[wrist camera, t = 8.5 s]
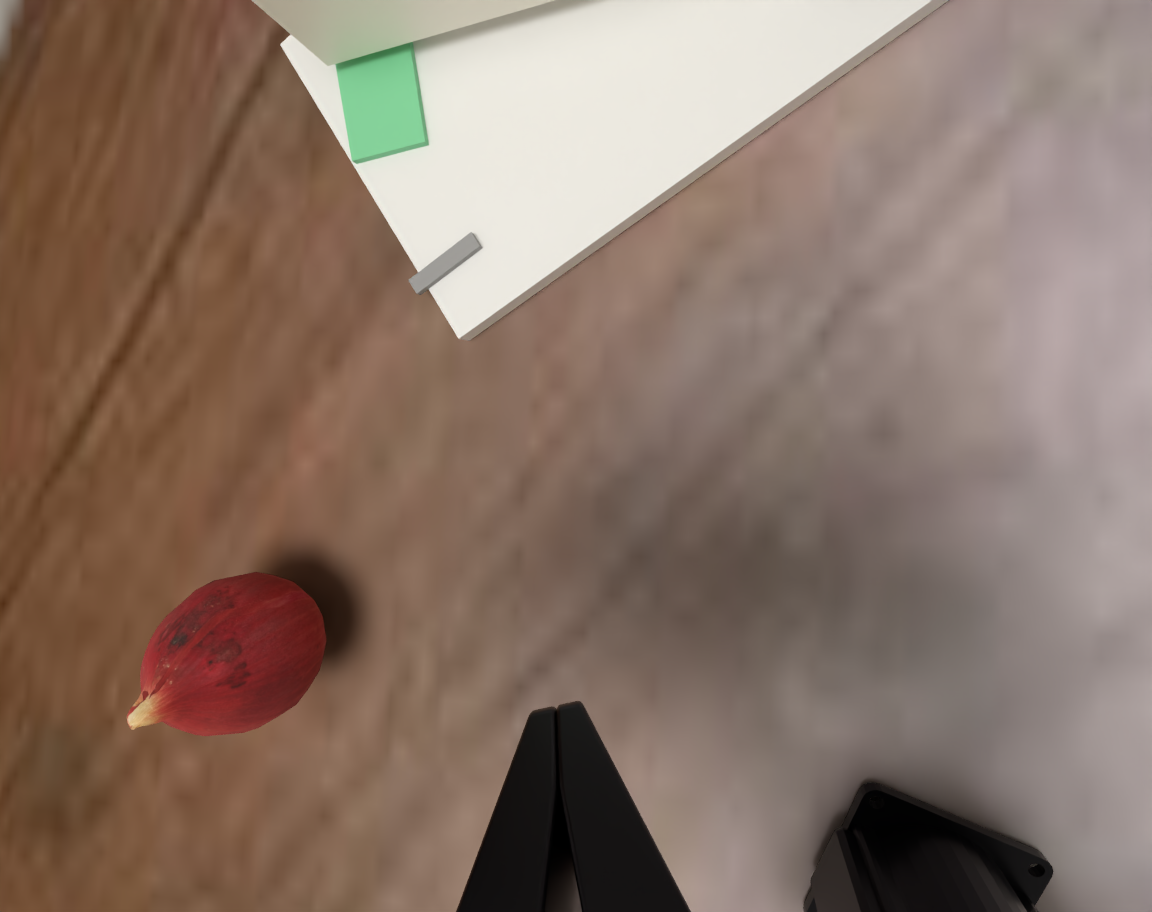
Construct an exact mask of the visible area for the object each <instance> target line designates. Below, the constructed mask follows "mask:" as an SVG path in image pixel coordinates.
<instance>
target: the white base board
mask: <svg viewBox="0 0 1152 912" xmlns="http://www.w3.org/2000/svg"><path fill="white" fill-rule="evenodd" d="M947 1H949V0H555V1H551V2H548V3H545V4H541V5H538V6H534V7H531V8H527V9H524V10H520V11H517V12H513V13H510V14H507V15H503V16H500V17H496V18H493V19H489V20H486V21H482V22H479V23H475V24H472V25H469V26H465V27H462V28H458V29H455V30H451V31H448V32H444V33H441V34H437V35H434V36H431V37H427V38H424V39H420V40H417V41H413V42H410V43H406V44H403V45H399V46H396V47H393V48H389V49H386V50H382V51H379V52H375V53H372V54H368V55H365V56H361V57H358V58H354V59H351V60H348V61H344V62H341V63H337V64H334V65H330V66H327V65H326V64H325V63H324V62H322V61H321V60H320V59H319V58H318V57H317V56H315V55H314V54H313V53H312V52H311V51H310V50H309V49H307V48H306V47H305V46H304V45H303V44H302V43H300V42H299V41H298V40H297V39H296V38H295V37H293V36H292V35H290V36H289V37H288V38H287V39H285V40H284V41H283V42H282V43H281V44H280V45H281V47H282V48H283V50H284V52H285V53H286V55H287V57H288V58H289V60H290V62H291V63H292V65H293V66H294V68H295V70H296V71H297V73H298V75H299V76H300V78H301V80H302V81H303V83H304V85H305V86H306V88H307V90H308V91H309V93H310V94H311V96H312V98H313V99H314V101H315V103H316V104H317V106H318V108H319V109H320V111H321V113H322V114H323V116H324V118H325V119H326V121H327V122H328V124H329V126H330V127H331V129H332V131H333V132H334V134H335V136H336V137H337V139H338V141H339V142H340V144H341V146H342V147H343V149H344V150H345V152H346V154H347V155H348V157H349V159H350V160H351V162H352V164H353V165H354V167H355V169H356V170H357V172H358V174H359V175H360V177H361V179H362V180H363V182H364V183H365V185H366V187H367V188H368V190H369V192H370V193H371V195H372V197H373V198H374V200H375V202H376V203H377V205H378V207H379V208H380V210H381V211H382V213H383V215H384V216H385V218H386V220H387V221H388V223H389V225H390V226H391V228H392V230H393V231H394V233H395V235H396V236H397V238H398V239H399V241H400V243H401V244H402V246H403V248H404V249H405V251H406V253H407V254H408V256H409V258H410V259H411V261H412V263H413V264H414V266H415V267H416V269H417V271H418V273H417V274H416V275H414V276H413V277H412V278H411V279H409V282H410V284H411V285H412V287H413V289H414V290H415V292H416V294H419V295H421V294H423V293H424V292H425V291H427V290H428V289H429V291H430V292H431V294H432V295H433V297H434V299H435V300H436V302H437V304H438V305H439V307H440V309H441V310H442V312H443V314H444V315H445V317H446V319H447V320H448V322H449V324H450V325H451V327H452V328H453V330H454V332H455V333H456V335H457V337H458V338H459V339H463V340H468V341H470V340H471V339H473V338H474V337H475V336H477V335H478V334H480V333H481V332H482V331H484V330H485V329H487V328H488V327H489V326H491V325H492V324H494V323H495V322H496V321H498V320H499V319H501V318H502V317H504V316H505V315H506V314H508V313H509V312H511V311H512V310H513V309H515V308H516V307H518V306H519V305H520V304H522V303H523V302H525V301H526V300H527V299H529V298H530V297H532V296H533V295H535V294H536V293H537V292H539V291H540V290H542V289H543V288H544V287H546V286H547V285H549V284H550V283H551V282H553V281H554V280H556V279H557V278H558V277H560V276H561V275H563V274H564V273H566V272H567V271H568V270H570V269H571V268H573V267H574V266H575V265H577V264H578V263H580V262H581V261H582V260H584V259H585V258H587V257H588V256H589V255H591V254H592V253H594V252H595V251H597V250H598V249H599V248H601V247H602V246H604V245H605V244H606V243H608V242H609V241H611V240H612V239H613V238H615V237H616V236H618V235H619V234H620V233H622V232H623V231H625V230H626V229H628V228H629V227H630V226H632V225H633V224H635V223H636V222H637V221H639V220H640V219H642V218H643V217H644V216H646V215H647V214H649V213H650V212H651V211H653V210H654V209H656V208H657V207H658V206H660V205H661V204H663V203H664V202H666V201H667V200H668V199H670V198H671V197H673V196H674V195H675V194H677V193H678V192H680V191H681V190H682V189H684V188H685V187H687V186H688V185H689V184H691V183H692V182H694V181H695V180H697V179H698V178H699V177H701V176H702V175H704V174H705V173H706V172H708V171H709V170H711V169H712V168H713V167H715V166H716V165H718V164H719V163H720V162H722V161H723V160H725V159H726V158H728V157H729V156H730V155H732V154H733V153H735V152H736V151H737V150H739V149H740V148H742V147H743V146H744V145H746V144H747V143H749V142H750V141H751V140H753V139H754V138H756V137H757V136H759V135H760V134H761V133H763V132H764V131H766V130H767V129H768V128H770V127H771V126H773V125H774V124H775V123H777V122H778V121H780V120H781V119H782V118H784V117H785V116H787V115H788V114H790V113H791V112H792V111H794V110H795V109H797V108H798V107H799V106H801V105H802V104H804V103H805V102H806V101H808V100H809V99H811V98H812V97H813V96H815V95H816V94H818V93H819V92H821V91H822V90H823V89H825V88H826V87H828V86H829V85H830V84H832V83H833V82H835V81H836V80H837V79H839V78H840V77H842V76H843V75H844V74H846V73H847V72H849V71H850V70H852V69H853V68H854V67H856V66H857V65H859V64H860V63H861V62H863V61H864V60H866V59H867V58H868V57H870V56H871V55H873V54H874V53H875V52H877V51H878V50H880V49H881V48H883V47H884V46H885V45H887V44H888V43H890V42H891V41H892V40H894V39H895V38H897V37H898V36H899V35H901V34H902V33H904V32H905V31H906V30H908V29H909V28H911V27H912V26H914V25H915V24H916V23H918V22H919V21H921V20H922V19H923V18H925V17H926V16H928V15H929V14H930V13H932V12H933V11H935V10H936V9H937V8H939V7H940V6H942V5H943V4H945V3H946V2H947Z"/></svg>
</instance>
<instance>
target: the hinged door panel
mask: <svg viewBox="0 0 1152 912" xmlns="http://www.w3.org/2000/svg"><path fill="white" fill-rule="evenodd" d="M252 1H253V2H254V3H255V4H256V5H258V6H259V7H260V8H261V9H262V10H263V11H265V12H266V13H267V14H268V15H269V16H270V17H271V18H273V19H274V20H275V21H276V22H277V23H278V24H280V25H281V26H282V27H283V28H284V29H285V30H287V31H288V32H289V33H290V34H291V35H292V36H293V37H295V38H296V39H297V40H298V41H299V42H300V43H302V44H303V45H304V46H305V47H306V48H307V49H309V50H310V51H311V52H312V53H313V54H314V55H315V56H317V57H318V58H319V59H320V60H321V61H322V62H324V63H325V64H326V65H327V66H330V65H334V64H337V63H341V62H344V61H348V60H351V59H354V58H358V57H361V56H365V55H368V54H372V53H375V52H379V51H382V50H386V49H389V48H393V47H396V46H399V45H403V44H406V43H410V42H413V41H417V40H420V39H424V38H427V37H431V36H434V35H437V34H441V33H444V32H448V31H451V30H455V29H458V28H462V27H465V26H469V25H472V24H475V23H479V22H482V21H486V20H489V19H493V18H496V17H500V16H503V15H507V14H510V13H513V12H517V11H520V10H524V9H527V8H531V7H534V6H538V5H541V4H545V3H548V2H551V1H555V0H252Z"/></svg>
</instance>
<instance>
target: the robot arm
mask: <svg viewBox="0 0 1152 912" xmlns="http://www.w3.org/2000/svg"><path fill="white" fill-rule="evenodd" d="M874 796H878V797H881V798H880V799H879V800H877V801H871V800H870V799H871V798H872V797H874ZM1032 864H1037V865H1036V866H1035V867H1029V866H1030V865H1032ZM1052 875H1053V869H1052V866H1051V865H1050V863H1049V862H1048V861H1047V859H1046V858H1045V857H1044V855H1043V854H1042V853H1041V852H1039V851H1038V850H1036V849H1034V848H1031V847H1029V846H1027V845H1024V844H1022V843H1019V842H1017V841H1015V840H1012V839H1010V838H1008V837H1005V836H1003V835H1000V834H998V833H996V832H993V831H991V830H988V829H986V828H984V827H981V826H979V825H976V824H974V823H972V822H969V821H967V820H965V819H962V818H960V817H957V816H955V815H953V814H950V813H948V812H945V811H943V810H941V809H938V808H936V807H933V806H931V805H929V804H926V803H924V802H922V801H919V800H917V799H914V798H912V797H910V796H907V795H905V794H902V793H900V792H898V791H895V790H893V789H890V788H888V787H886V786H883V785H881V784H878V783H874V782H871V783H866V784H864V785H863V786H862V787H861V788H860V790H859V792H858V794H857V796H856V798H855V800H854V802H853V804H852V806H851V808H850V810H849V812H848V814H847V816H846V819H845V821H844V823H843V825H842V827H840V828H838V829H837V830H835V831H834V833H833V835H832V837H831V839H830V841H829V843H828V845H827V847H826V849H825V851H824V853H823V855H822V857H821V859H820V861H819V864H818V866H817V868H816V870H815V872H814V874H813V876H812V878H811V886H812V888H811V891H810V893H809V895H808V897H807V899H806V901H805V903H804V907H803V909H804V912H1038V911H1037V909H1036V907H1035V905H1036V903H1037V901H1038V900H1039V898H1040V896H1041V894H1042V893H1043V891H1044V889H1045V888H1046V886H1047V884H1048V883H1049V881H1050V879H1051V877H1052ZM456 912H691V911H690V909H689V907H688V905H687V903H686V901H685V899H684V898H683V896H682V894H681V892H680V890H679V888H678V886H677V884H676V882H675V880H674V878H673V876H672V875H671V873H670V871H669V869H668V867H667V865H666V863H665V861H664V859H663V857H662V855H661V853H660V851H659V850H658V848H657V846H656V844H655V842H654V840H653V838H652V836H651V834H650V832H649V830H648V828H647V826H646V825H645V823H644V821H643V819H642V817H641V815H640V813H639V811H638V809H637V807H636V805H635V803H634V801H633V800H632V798H631V796H630V794H629V792H628V790H627V788H626V786H625V784H624V782H623V780H622V778H621V776H620V775H619V773H618V771H617V769H616V767H615V765H614V763H613V761H612V759H611V757H610V755H609V753H608V751H607V750H606V748H605V746H604V744H603V742H602V740H601V738H600V736H599V734H598V732H597V730H596V728H595V726H594V725H593V723H592V721H591V719H590V717H589V715H588V713H587V711H586V709H585V707H584V706H583V704H582V703H581V702H580V701H575V702H570V703H566V704H561V705H559V706H558V707H557V709H556V708H555V707H547V708H543V709H538V710H534V711H532V712H531V713H530V715H529V717H528V720H527V722H526V725H525V728H524V730H523V733H522V736H521V738H520V741H519V744H518V747H517V749H516V752H515V755H514V757H513V760H512V763H511V765H510V768H509V771H508V773H507V776H506V779H505V782H504V784H503V787H502V790H501V792H500V795H499V798H498V800H497V803H496V806H495V808H494V811H493V814H492V817H491V819H490V822H489V825H488V827H487V830H486V833H485V835H484V838H483V841H482V844H481V846H480V849H479V852H478V854H477V857H476V860H475V862H474V865H473V868H472V870H471V873H470V876H469V879H468V881H467V884H466V887H465V889H464V892H463V895H462V897H461V900H460V903H459V906H458V908H457V911H456Z"/></svg>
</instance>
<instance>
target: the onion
mask: <svg viewBox="0 0 1152 912" xmlns="http://www.w3.org/2000/svg"><path fill="white" fill-rule="evenodd" d="M326 640H327V639H326V633H325V628H324V621H323V616H322V614H321V612H320V610H319V608H318V606H317V604H316V603H315V601H314V600H313V599H312V598H311V597H310V596H309V595H308V594H307V593H306V592H304V591H303V590H302V589H301V588H300V587H299V586H298V585H297V584H296V583H294V582H293V581H290V580H287V579H284V578H280V577H277V576H274V575H270V574H265V573H259V572H254V573H249V574H244V575H239V576H234V577H229V578H224V579H219V580H214V581H212V582H210V583H208V584H206V585H205V586H203V587H201V588H199V589H197V590H195V591H194V592H193V593H192V594H191V595H190V596H189V597H188V598H187V599H185V600H184V601H183V602H182V603H181V604H180V605H179V606H177V607H176V608H175V609H174V610H173V611H172V612H171V613H169V614H168V615H167V616H166V617H165V619H164V620H163V621H162V622H161V624H160V625H159V626H158V627H157V629H156V631H155V633H154V634H153V636H152V638H151V639H150V642H149V644H148V647H147V649H146V652H145V655H144V658H143V662H142V665H141V674H140V680H141V694H140V697H139V699H138V700H137V701H136V703H135V704H134V705H133V706H132V707H131V709H130V710H129V712H128V715H127V722H128V725H129V727H130V728H131V729H132V730H133V729H136V728H138V727H140V726H146V725H152V724H155V723H159V722H164V723H165V724H167V725H169V726H171V727H173V728H176V729H179V730H182V731H185V732H188V733H191V734H195V735H202V736H212V735H223V734H235V733H244V732H247V731H250V730H253V729H256V728H259V727H261V726H262V725H264V724H266V723H268V722H269V721H271V720H273V719H274V718H276V717H278V716H279V715H281V714H283V713H284V712H286V711H287V710H289V709H290V708H292V707H293V706H295V705H296V704H297V703H298V702H299V700H300V699H301V698H302V696H303V695H304V694H305V693H306V691H307V690H308V688H309V687H310V685H311V683H312V682H313V680H314V679H315V677H316V675H317V674H318V672H319V670H320V667H321V663H322V660H323V656H324V650H325V645H326Z"/></svg>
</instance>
